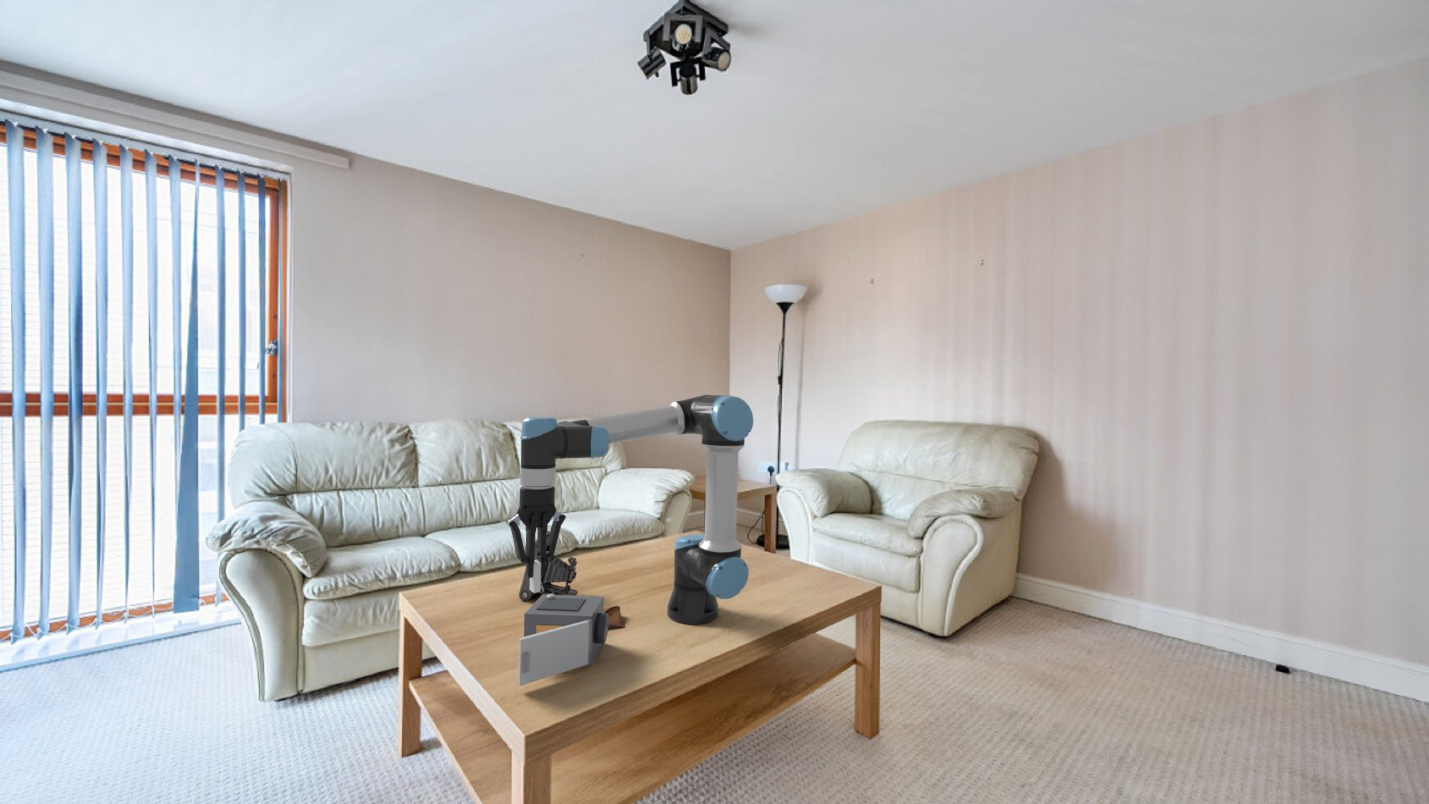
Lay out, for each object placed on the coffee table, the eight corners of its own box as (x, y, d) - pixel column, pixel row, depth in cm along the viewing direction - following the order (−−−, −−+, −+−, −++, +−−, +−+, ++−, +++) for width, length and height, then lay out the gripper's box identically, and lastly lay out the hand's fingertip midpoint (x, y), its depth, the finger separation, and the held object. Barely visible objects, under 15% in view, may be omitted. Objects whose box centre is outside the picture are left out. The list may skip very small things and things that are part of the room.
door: (589, 661, 125) (590, 619, 125) (593, 664, 123) (594, 621, 123) (518, 683, 114) (519, 637, 114) (521, 687, 113) (522, 641, 113)
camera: (566, 614, 162) (584, 551, 162) (513, 598, 162) (531, 536, 162) (576, 600, 173) (593, 542, 173) (527, 585, 173) (544, 527, 173)
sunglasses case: (560, 637, 139) (559, 611, 142) (557, 641, 145) (555, 615, 148) (627, 627, 146) (624, 601, 149) (621, 630, 152) (619, 606, 155)
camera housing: (610, 642, 137) (611, 593, 137) (598, 667, 125) (599, 613, 125) (541, 640, 138) (542, 591, 137) (523, 664, 125) (524, 610, 125)
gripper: (559, 481, 126) (556, 580, 126) (502, 485, 118) (499, 591, 118) (572, 486, 120) (569, 589, 120) (513, 491, 112) (510, 602, 112)
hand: (534, 590), depth 119 cm, fingers closed
